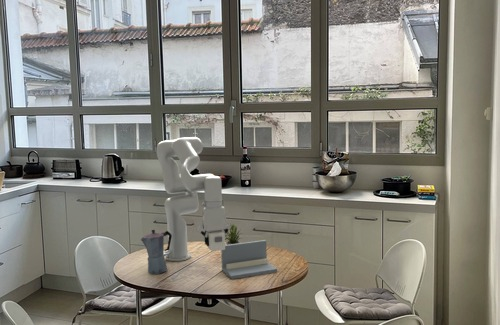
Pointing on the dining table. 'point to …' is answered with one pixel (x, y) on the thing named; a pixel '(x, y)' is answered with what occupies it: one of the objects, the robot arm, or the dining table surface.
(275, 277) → the dining table surface
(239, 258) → the cleat board
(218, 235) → the cream rectangular block
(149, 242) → the moka pot
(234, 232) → the house plant
